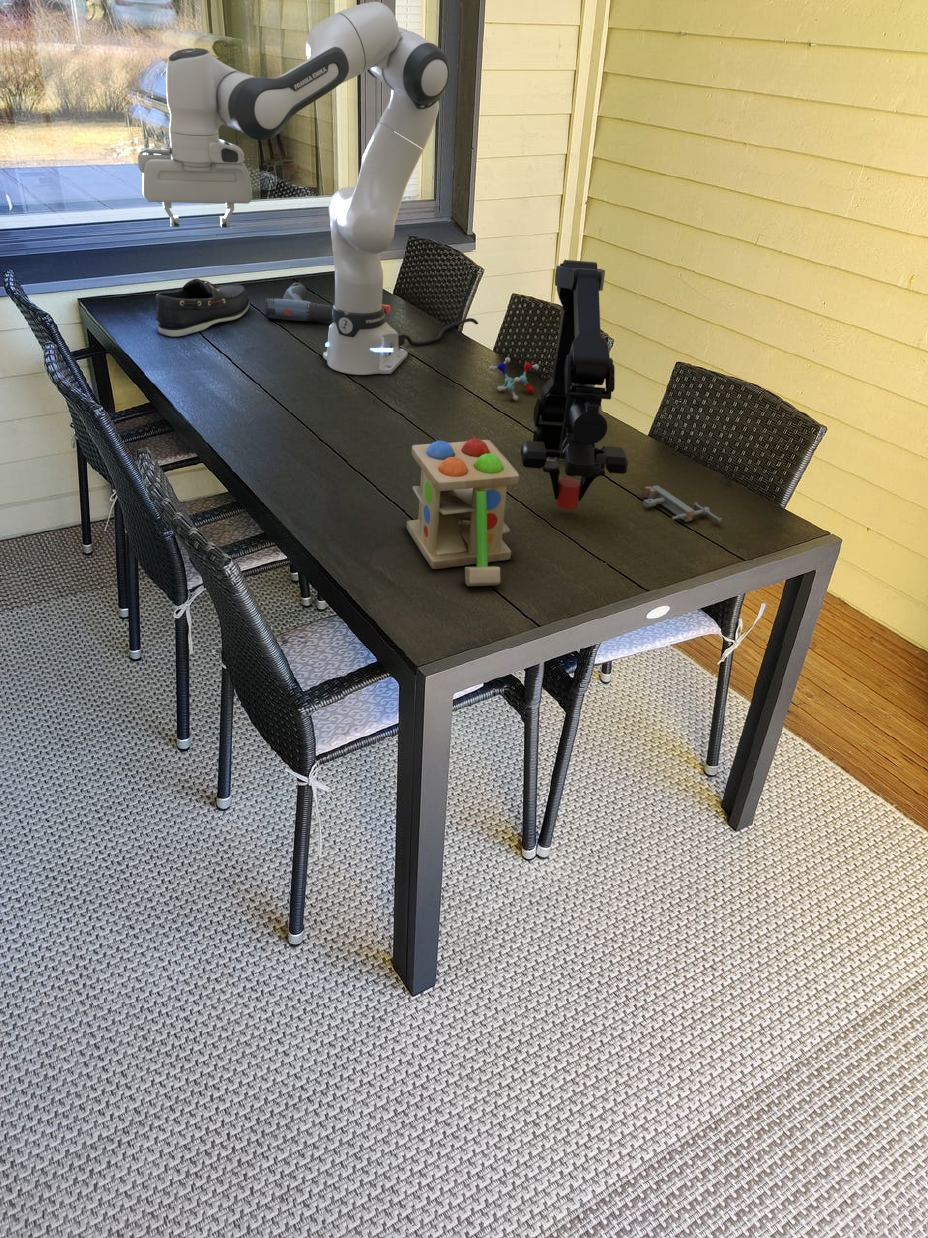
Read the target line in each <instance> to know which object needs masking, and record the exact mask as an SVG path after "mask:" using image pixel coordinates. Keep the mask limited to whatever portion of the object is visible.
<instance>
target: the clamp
mask: <svg viewBox="0 0 928 1238" xmlns="http://www.w3.org/2000/svg"><path fill="white" fill-rule="evenodd" d="M643 498H647V499H644V500H643V506H644V507H646V508H651V507H656V505H659V504H660V505H662V507H664V508H665V509H668V511H670V512H671V513H673V514H674V516H672V517H671V520H673V521H674V520H680V519H681V520H683V521H684V522H691V521H693V516H697V515H702V516H704V515H709V516H710V517H712V518H713V519H715V520H716V521H717V523H719V524H721V523H722V522H723V518H722V517H719V516H717V515H715V514H714V513H712V512H711V508H710V507H708V506H705V507H703V506H701V505H699V503H698V502H697V501H695V502H694V503H693V507H694V508H698V510H695V509H693V508H692V507H691V506H689V505H687V504H686V503H685V502H683V501H682V500H680V499H679V498H677V497H676V496H674V495H673V494H671V493H670V492H669V491H667V490H666V489H664V488H663V487H660V486H659V485H657V484H656V485H653V486H650V485H649V486H645V487H644V492H643Z"/></svg>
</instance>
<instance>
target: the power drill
mask: <svg viewBox="0 0 928 1238" xmlns="http://www.w3.org/2000/svg"><path fill="white" fill-rule="evenodd" d="M307 295H308V290H307V287H306V285H304V284H303V283H301V282H293V283H292V284H291V285H290V286H289V287H288V288H287V289H286V291H285V292H284V294H283V297H282V298H266V299H265V302H264V313H265V314H264V316H265V318H267V319H274V320H275V319H276V320H283V321H294V322H295V321H297V322H332V321H333V314H332V311H333V305H331V304H324V303H317V302H313V301H307V300H305V299H306V297H307Z"/></svg>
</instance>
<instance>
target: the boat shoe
mask: <svg viewBox="0 0 928 1238" xmlns="http://www.w3.org/2000/svg"><path fill="white" fill-rule="evenodd" d="M155 299H156V317H155V320H156V321H157V322H158V324H157V326H158V332H159V333H160V334H161V335H163V336H167V337H183V336H187V335H189V334H190V335H191V334H193V333H197V332H200V331H204V330H206V329H208V328H209V327H210V326H212V325H214V324H218V323H222V322H228V321H234V320H237V319H239V318H241V317H242V316H244V315H245V314H246V313H247V312H248V310H249V308H250V299H249V295H248V292H247V290H246V289H245V287H244V286H243V285H242V284H239V283H231V284H226V285H221V286H217V287H216V286H215V284H214V283H212V282H210V281H208V280H205V279H200V278H193V279H191V280H189V281H187V282H185V284H184V285H183V286H182V287H181V289H180V290H176V291H170V292H169V291H168V292H167V291H165V292H159V293H157V294H156V295H155Z"/></svg>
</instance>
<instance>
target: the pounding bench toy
mask: <svg viewBox="0 0 928 1238" xmlns="http://www.w3.org/2000/svg"><path fill="white" fill-rule="evenodd" d="M411 456H412V458H413V459H414V460H415V462H416V464H417V465H418V467H419V468H420V469H421V471H420V472H421V474H420V485H418V486H417V485H413V486H412V490H413V492H414V495H416V497H417V499H418V500H419V501H418V502H419V504H418V506H419V507H418V519H412V520H407V521H406V529H407V531H408V533H409V535H410V536H411V538H412V540H413V541H414V543H415V544H416V546H417V547H418V549H419V551H420V552H421V554H422V555H423V557H424V559H425V560H426V561H427V563H428V565H429V567H430V569H433V570H439V569H440V570H441V569H448V568H453V567H454V568H455V567H456V568H457V567H462V566H463V567H464V566H465V567H464V583H465V585H466V586H467V587H486V586H488V587H489V586H491V587H492V586H499V585H500V584H501V567H499V566H497V565H489V563H491V562H492V563H493V562H500V561H507V560H511V556H512V550H511V549H510V548H509V546H508V545H507V544H506V542H505V541H504V540H503V534H507V533H510V532H511V529H510V528H509V526H508V525H507V524H506V522H505V512H506V511H505V509H506V502H507V501H506V500H507V491H508V490H507V488H508V486H512V485H517V484H519V482H520V481H519V480H520V474H519V473H518V471H517V470H516V469H515V467H513V465H512V464H511V463H510V462H509V460H508V459H507V458H506V457H505V456H504V455H503V454H502V453H501V451H500V450H499V449H498V448H497V447H496V446H495V444H494V443H493V442H492V441H491V440H489V439H480V438H471V439H469V440H464V441H455V442H453V441H452V442H447V441H444V440H436V441H433V442H432V443H424V444H423V443H422V444H413V445H412V446H411ZM469 565H476V566H469Z"/></svg>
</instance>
